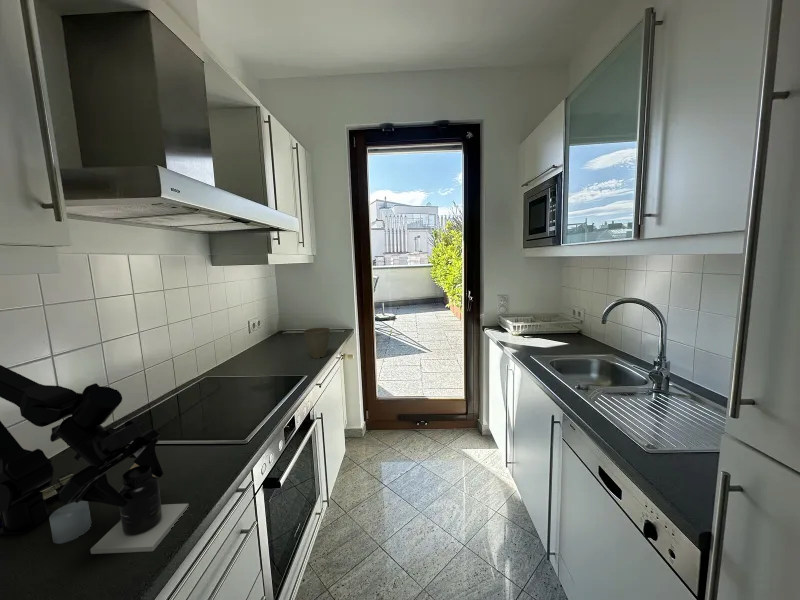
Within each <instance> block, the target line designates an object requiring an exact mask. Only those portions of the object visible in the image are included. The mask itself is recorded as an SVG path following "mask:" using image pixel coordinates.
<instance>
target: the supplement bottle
mask: <svg viewBox="0 0 800 600" xmlns="http://www.w3.org/2000/svg"><path fill="white" fill-rule="evenodd" d="M119 489H120V490H119V491H118V493H120V494H121V495H122V496H123V497H124V498H125V500H126V501H127V502H128V503H127V505H126V506H125V507H119V514H120V520H121V523H122V529H123V532H124V533H125V534H127V535H137V534H141V533H144V532H146V531H148V530H150V529H151V528H153V527H154V526H155V525H156V524H157V523H158V522H159V521H160V519H161V517H162V510H161V505H162V501H161V493H160V485H159V480H158V479H157V477H153V476H152V472H151V467H150V466H147V465H142V466H137V467H134V468H132V469H130V468H129V469H128V470H126V471H125V472H124V473H123V474H122V487H121V488H119Z"/></svg>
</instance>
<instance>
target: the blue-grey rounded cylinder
mask: <svg viewBox="0 0 800 600" xmlns="http://www.w3.org/2000/svg"><path fill="white" fill-rule="evenodd" d="M48 517H49V518H48V519H49V524H50V530H51V538H52V542H53V543H54V544H58V545H59V544H66V543H68V542H71V541H74V540H76V539H78V538H79V536H80V537H82V536H83V535H84V534H86V533H87V532H88V531H89V530H90V529H91V528H92V525H91V524H92V517H91V511H90V506H89V501H80V502H78V503H76V502H75V501H72V502H71V503H69V504H68V505H65V504H64V505H63V506H61V507H59V508H58V509H56V510H53V513H52V514H51V515H49V516H48ZM90 527H91V528H90ZM81 535H82V536H81Z"/></svg>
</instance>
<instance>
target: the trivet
mask: <svg viewBox="0 0 800 600" xmlns="http://www.w3.org/2000/svg"><path fill="white" fill-rule="evenodd" d="M188 507H189V508H190V505H189V503H171V504H170V503H169V504H168V503H166V504H161V510H162V517H161V519H160V521H159V522H158V523H157V524H156V525H155V526H154V527H153V528H151V529H150V530H148V531H146V532H144V533H141V534H137V535H127V534H125V533H124V532H123V529H122V523H121V519H120V520H119V521H118V522H117V523H116V524H115V525H114V526H113V527H112V528H111V529H110V530H109V531H108V532H107V533H106V534H104V535H103V537H101V539H99V540H98V542H96V543H95V544H94V545H93V546H92V547H91V548H90V554H91V555H96V554H97V555H98V554H100V555H101V554H121V553H123V554H125V553H142V552H143V553H144V552H146V553H147V552H154V551H155V550H156V549H157V547H158V546H159V545H160V543H161V542H162V541H163V540H164V538H166V536H167V535H168V534H169V533H170V531H171V530H172V529H173V528H172V527H175V525H176V524H177V523H178V522H177V521H179V520H180V519H181V518H182V517H181V516H184V514H185V513H186V512H187V511H188V509H189V508H188ZM187 508H188V509H187ZM186 510H187V511H186ZM185 511H186V512H185ZM184 512H185V513H184ZM183 513H184V514H183ZM180 517H181V518H180ZM179 518H180V519H179ZM178 519H179V520H178ZM176 522H177V523H176ZM175 523H176V524H175ZM174 524H175V525H174ZM171 528H172V529H171Z"/></svg>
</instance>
